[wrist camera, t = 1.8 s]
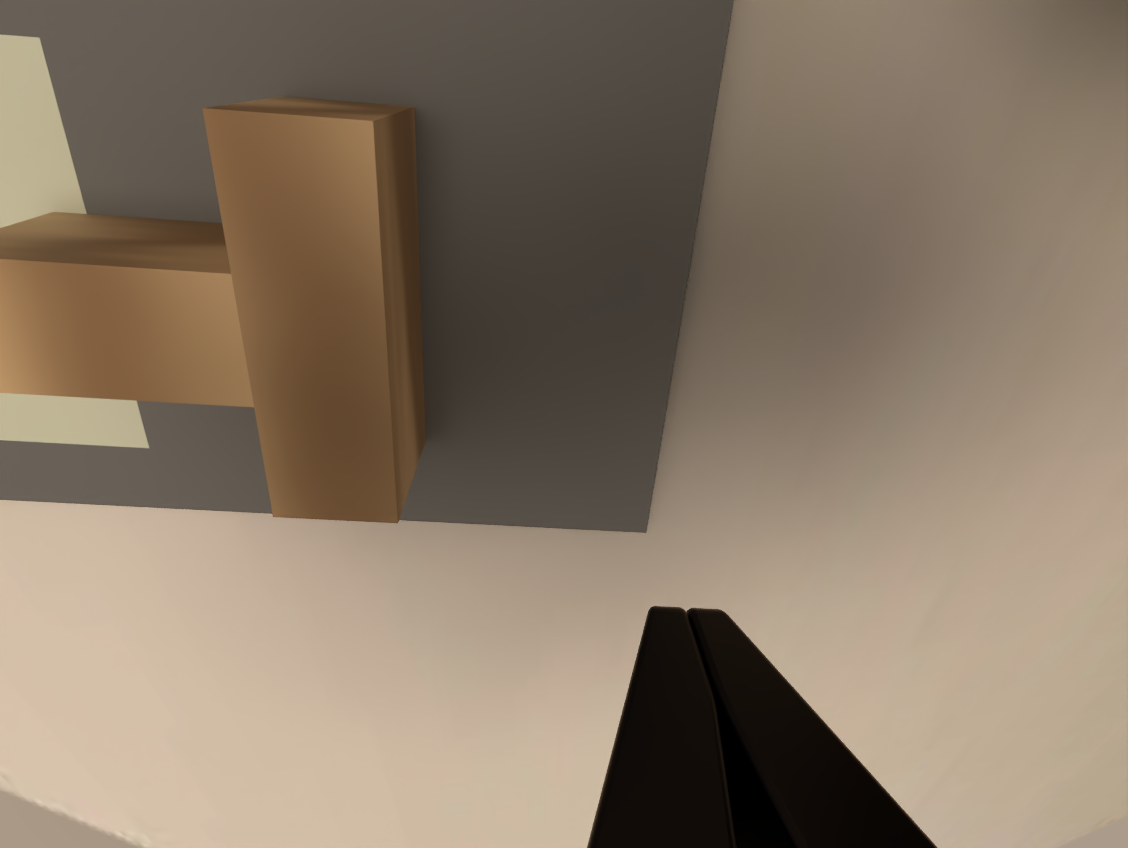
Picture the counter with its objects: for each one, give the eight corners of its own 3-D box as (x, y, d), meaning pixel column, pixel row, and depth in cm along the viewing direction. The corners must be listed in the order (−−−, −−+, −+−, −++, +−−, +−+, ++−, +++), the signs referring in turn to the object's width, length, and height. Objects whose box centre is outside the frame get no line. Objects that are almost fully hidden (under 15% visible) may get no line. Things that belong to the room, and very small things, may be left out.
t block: (414, 106, 15) (372, 121, 12) (425, 440, 20) (397, 522, 16) (14, 75, 15) (-150, 81, 12) (115, 423, 19) (17, 503, 16)
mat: (773, -271, 13) (779, -281, 12) (644, 525, 22) (646, 532, 22) (-691, -422, 12) (-732, -437, 11) (-182, 482, 21) (-196, 489, 20)
